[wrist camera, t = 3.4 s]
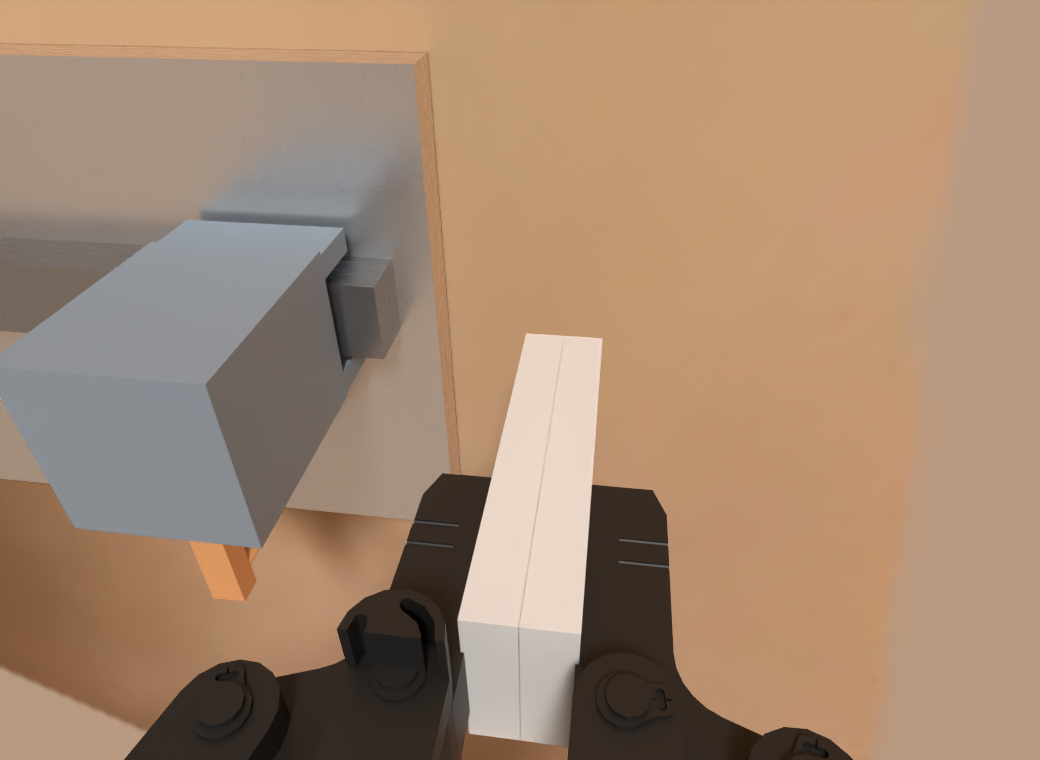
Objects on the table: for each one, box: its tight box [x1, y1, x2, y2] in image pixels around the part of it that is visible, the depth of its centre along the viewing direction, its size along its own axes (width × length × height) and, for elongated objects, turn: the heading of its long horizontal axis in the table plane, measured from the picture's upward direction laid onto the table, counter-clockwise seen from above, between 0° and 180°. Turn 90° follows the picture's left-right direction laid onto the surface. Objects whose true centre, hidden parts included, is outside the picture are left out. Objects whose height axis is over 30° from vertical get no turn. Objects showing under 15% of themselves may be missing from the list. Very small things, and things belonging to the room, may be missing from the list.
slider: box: [0, 220, 366, 602], centre depth 16 cm, size 7×4×6 cm, turn 0°
